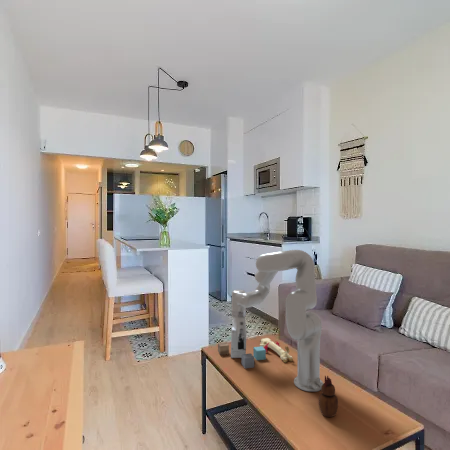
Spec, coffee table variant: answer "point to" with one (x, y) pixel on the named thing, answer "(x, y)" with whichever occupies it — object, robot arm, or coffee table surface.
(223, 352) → the walnut block
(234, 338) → the skincare box
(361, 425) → the coffee table surface
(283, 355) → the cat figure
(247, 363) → the charcoal block
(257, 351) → the teal block
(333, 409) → the wooden figurine
